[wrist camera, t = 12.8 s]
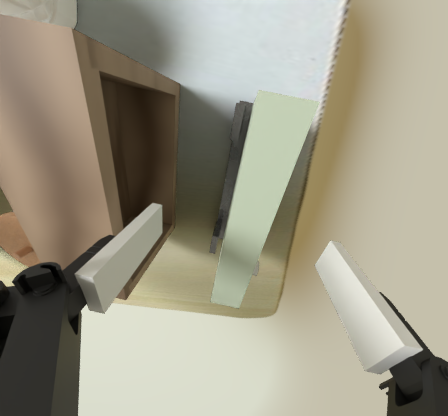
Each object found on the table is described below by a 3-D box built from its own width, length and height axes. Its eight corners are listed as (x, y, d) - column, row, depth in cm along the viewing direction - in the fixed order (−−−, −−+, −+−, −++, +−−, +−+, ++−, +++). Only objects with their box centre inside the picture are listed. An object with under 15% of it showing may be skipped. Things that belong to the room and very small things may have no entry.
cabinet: (129, 217, 28) (51, 282, 17) (111, 70, 19) (-102, -6, 7) (174, 227, 28) (125, 300, 17) (179, 84, 18) (71, 27, 7)
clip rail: (215, 233, 28) (209, 254, 23) (239, 101, 18) (237, 96, 14) (250, 241, 28) (251, 264, 23) (293, 112, 18) (307, 110, 14)
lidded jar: (117, 221, 29) (66, 261, 21) (94, 250, 34) (46, 292, 26) (58, 178, 26) (-26, 205, 18) (43, 216, 31) (-31, 251, 23)
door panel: (252, 105, 18) (258, 89, 8) (291, 113, 18) (344, 107, 8) (223, 235, 26) (210, 302, 17) (249, 241, 26) (250, 311, 17)
